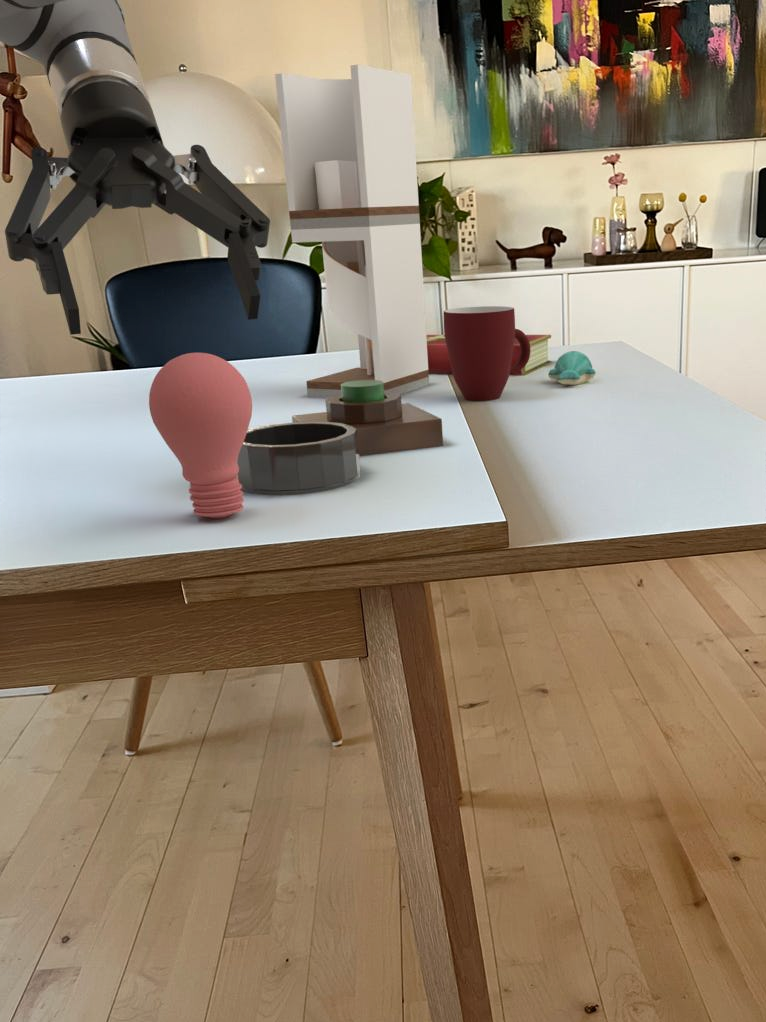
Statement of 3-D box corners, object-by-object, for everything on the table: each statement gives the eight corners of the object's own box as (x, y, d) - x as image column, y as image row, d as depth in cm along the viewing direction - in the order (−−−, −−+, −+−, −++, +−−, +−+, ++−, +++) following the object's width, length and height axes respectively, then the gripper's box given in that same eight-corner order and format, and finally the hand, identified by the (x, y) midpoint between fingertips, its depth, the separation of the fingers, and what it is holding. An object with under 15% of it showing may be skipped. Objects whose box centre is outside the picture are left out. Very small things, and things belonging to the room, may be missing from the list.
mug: (504, 388, 128) (501, 303, 124) (547, 395, 122) (546, 306, 118) (434, 400, 122) (429, 311, 118) (476, 408, 116) (472, 314, 112)
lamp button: (348, 407, 96) (346, 388, 95) (337, 401, 100) (336, 382, 99) (390, 403, 97) (388, 383, 97) (378, 396, 101) (376, 378, 100)
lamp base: (317, 462, 94) (312, 412, 92) (294, 443, 102) (289, 396, 101) (443, 447, 98) (440, 398, 96) (410, 429, 106) (407, 384, 105)
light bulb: (172, 510, 80) (147, 350, 76) (266, 502, 81) (246, 344, 77) (163, 536, 74) (135, 362, 69) (265, 527, 75) (244, 355, 70)
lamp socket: (248, 503, 82) (242, 452, 80) (228, 476, 90) (222, 430, 89) (374, 486, 85) (370, 437, 83) (343, 462, 94) (338, 417, 92)
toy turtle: (599, 379, 131) (599, 348, 130) (591, 389, 125) (591, 356, 123) (553, 380, 132) (552, 349, 131) (543, 389, 126) (542, 357, 124)
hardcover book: (524, 376, 136) (523, 343, 134) (379, 374, 143) (377, 343, 142) (551, 363, 146) (551, 332, 145) (414, 362, 154) (413, 332, 152)
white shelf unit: (358, 383, 137) (332, 82, 123) (429, 386, 132) (411, 74, 119) (308, 398, 127) (275, 74, 114) (382, 401, 123) (357, 64, 109)
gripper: (249, 149, 95) (316, 333, 88) (-50, 155, 86) (-2, 362, 79) (257, 76, 89) (329, 268, 82) (-66, 74, 79) (-15, 292, 72)
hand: (167, 315), depth 80 cm, fingers open, 13 cm apart
